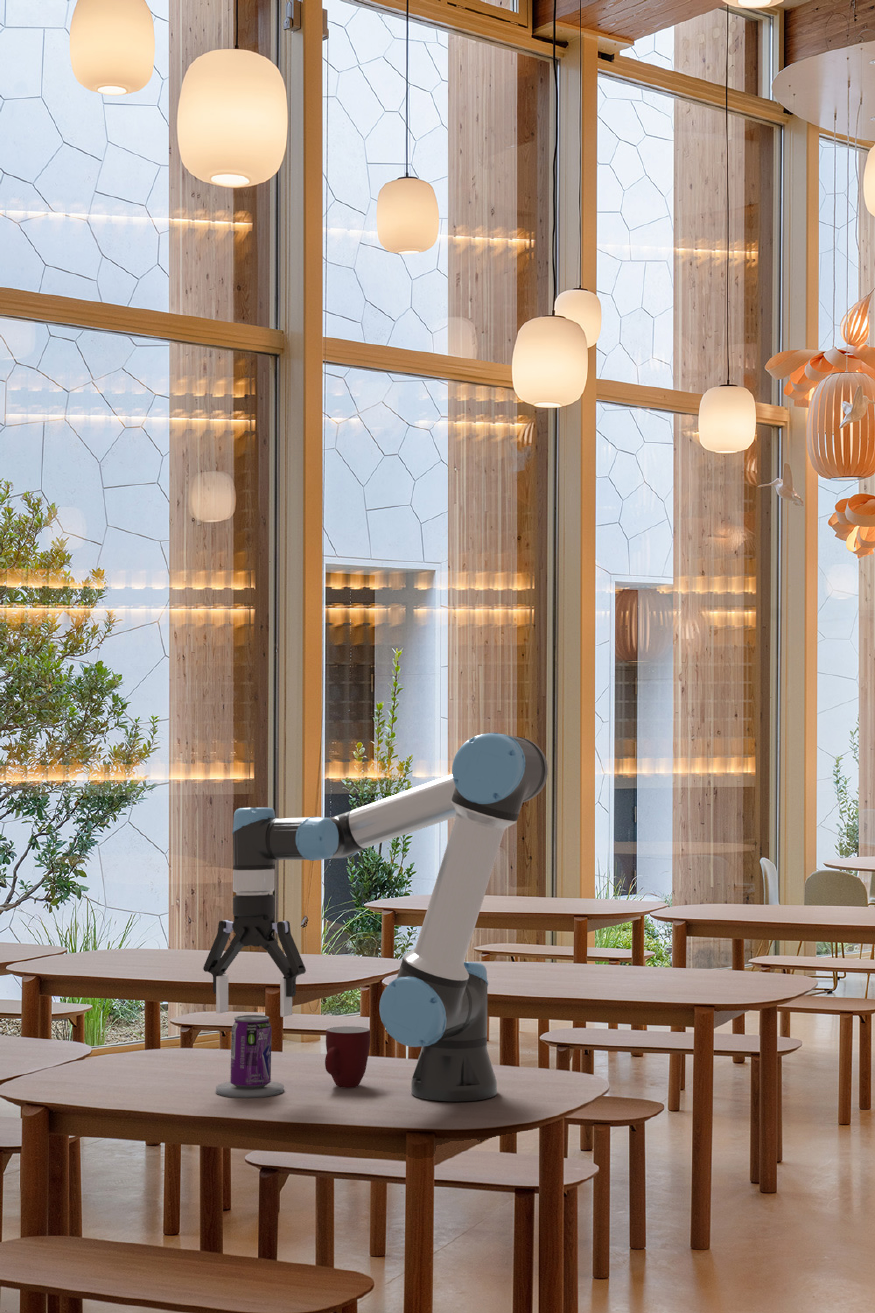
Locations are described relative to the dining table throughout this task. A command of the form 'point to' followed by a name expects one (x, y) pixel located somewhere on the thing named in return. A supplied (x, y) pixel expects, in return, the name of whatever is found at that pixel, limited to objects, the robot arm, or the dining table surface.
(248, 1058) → the beverage can
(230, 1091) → the coaster
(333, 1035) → the mug
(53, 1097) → the dining table surface
